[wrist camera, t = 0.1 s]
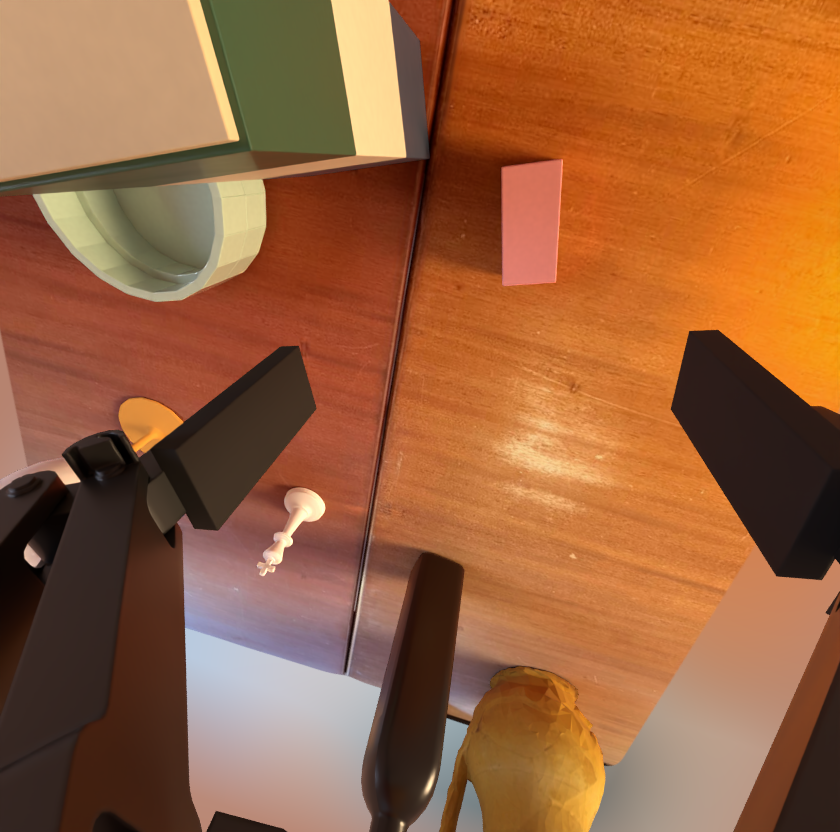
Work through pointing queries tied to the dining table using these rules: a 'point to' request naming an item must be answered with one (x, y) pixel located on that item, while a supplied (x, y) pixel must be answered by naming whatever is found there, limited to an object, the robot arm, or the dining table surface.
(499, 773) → the pitcher
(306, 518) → the chess piece
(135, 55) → the felt pad
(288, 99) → the book stack
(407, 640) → the wine bottle
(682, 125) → the dining table surface
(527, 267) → the eraser
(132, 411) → the cup
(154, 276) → the bowl
